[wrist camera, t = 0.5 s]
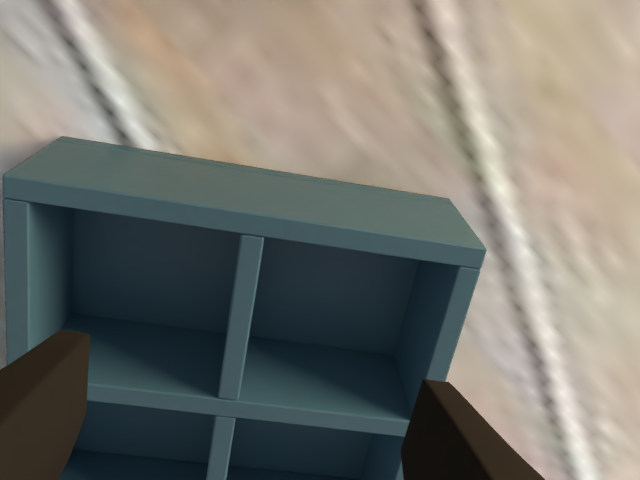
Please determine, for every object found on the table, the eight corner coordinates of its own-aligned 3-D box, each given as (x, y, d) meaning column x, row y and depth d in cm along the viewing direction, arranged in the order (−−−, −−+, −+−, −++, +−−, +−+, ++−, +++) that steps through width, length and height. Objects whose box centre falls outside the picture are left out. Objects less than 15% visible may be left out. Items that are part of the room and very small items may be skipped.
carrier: (370, 482, 27) (384, 573, 23) (56, 449, 26) (10, 540, 21) (450, 198, 22) (487, 249, 18) (61, 135, 20) (1, 174, 16)
